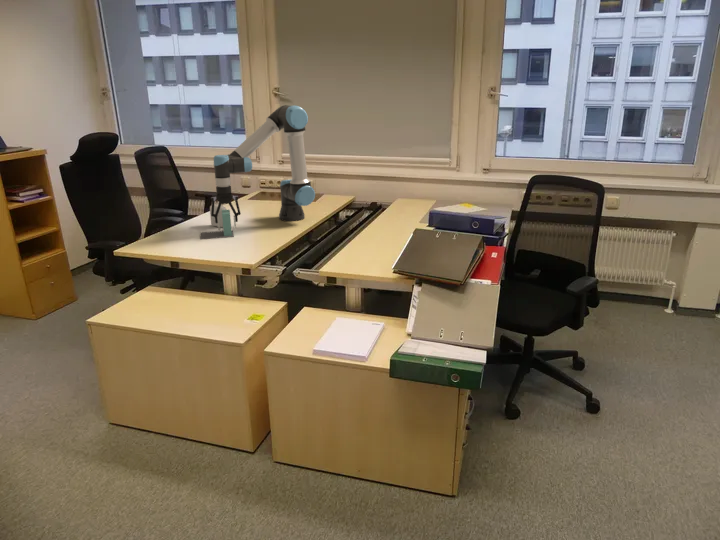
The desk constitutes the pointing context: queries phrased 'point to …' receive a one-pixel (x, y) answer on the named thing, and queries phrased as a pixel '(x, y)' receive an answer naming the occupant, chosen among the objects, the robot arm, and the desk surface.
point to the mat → (214, 235)
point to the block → (226, 222)
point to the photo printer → (218, 215)
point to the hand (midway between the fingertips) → (227, 228)
